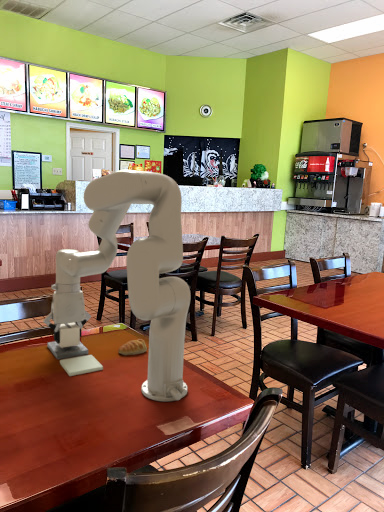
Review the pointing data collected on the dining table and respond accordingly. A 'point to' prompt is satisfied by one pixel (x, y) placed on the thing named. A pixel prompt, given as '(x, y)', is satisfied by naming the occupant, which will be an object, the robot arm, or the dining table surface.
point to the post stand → (67, 350)
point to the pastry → (133, 347)
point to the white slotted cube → (69, 335)
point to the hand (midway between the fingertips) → (67, 340)
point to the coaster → (81, 365)
